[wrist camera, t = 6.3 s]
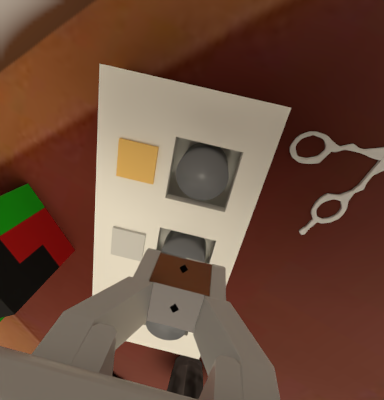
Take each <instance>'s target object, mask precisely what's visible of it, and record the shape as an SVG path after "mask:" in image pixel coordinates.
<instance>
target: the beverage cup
mask: <svg viewBox="0 0 384 400" xmlns="http://www.w3.org/2000/svg"><path fill="white" fill-rule="evenodd" d="M202 390H203V375H202V363H201V361H200V360H199V359H195V358H191V357H187V356H179V357H177V359H176V360H175V364H174V367H173V370H172V374H171V377H170V381H169V385H168V389H167V391H168V392H172V393H176V394H179V395H183V396H187V397H191V398H194V399H199V397H200V395H201V392H202Z"/></svg>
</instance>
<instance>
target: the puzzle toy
mask: <svg viewBox="0 0 384 400" xmlns="http://www.w3.org/2000/svg"><path fill="white" fill-rule="evenodd" d="M74 251H75V250H74V248H73V247H72V245H71V244H70V242H69V241H68V240H67V238H66V237H65V235H64V234H63V232H62V231H61V230H60V228H59V227H58V225H57V224H56V223H55V221H54V220H53V218H52V217H51V215H50V214H49V213H48V211H47V210H46V208H45V207H44V205H43V204H42V203H41V201H40V200H39V198H38V197H37V195H36V194H35V193H34V191H33V190H32V188H31V187H30V186H29V184H26V185H23V186H21V187H19V188H17V189H14V190H12V191H10V192H8V193H5V194H3V195H1V196H0V318H2V317H6V316H10V315H14V314H15V313H16V312H17V311H18V310H19V309H20V308H21V307H22V306H23V305H24V304H25V303H26V302H27V301H28V300H29V298H30V297H31V296H32V295H33V294H34V293H35V292H36V291H37V290H38V289H39V288H40V287H41V286H42V285H43V284H44V283H45V282H46V280H47V279H48V278H49V277H50V276H51V275H52V274H53V273H54V272H55V271H56V270H57V269H58V268H59V267H60V266H61V265H62V264H63V262H64V261H65V260H66V259H67V258H68V257H69V256H70V255H71V254H72V253H73V252H74Z"/></svg>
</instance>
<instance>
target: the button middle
mask: <svg viewBox="0 0 384 400" xmlns="http://www.w3.org/2000/svg"><path fill="white" fill-rule="evenodd" d="M161 251H164V252H167V253H171V254H174V255H178V256H182V257H185V258H189V259H193V260H197V261H201V262H205V254H206V241H205V239H204V238H202V237H198V236H194V235H190V234H185V233H181V232H177V231H173V230H172V231H170V232H169V233H168V235H167V237H166V239H165V242H164V244H163V247H162V249H161Z"/></svg>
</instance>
